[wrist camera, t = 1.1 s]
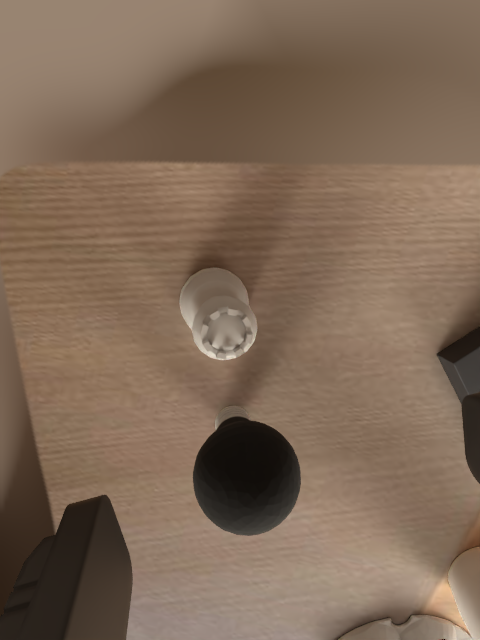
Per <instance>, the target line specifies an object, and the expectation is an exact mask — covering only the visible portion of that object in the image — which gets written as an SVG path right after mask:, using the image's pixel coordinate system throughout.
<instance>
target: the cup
mask: <svg viewBox="0 0 480 640" xmlns="http://www.w3.org/2000/svg"><path fill="white" fill-rule="evenodd" d="M448 582H449V585H450V588H451V591H452V593H453V596H454V599H455V602H456V604H457V607H458V610H459V613H460V615H461V617H462V619H463V621H464V623H465V625H466V627H467V629H468V631H469V633H470V635H471V637H472V639H473V640H480V547H475V548H471V549H469V550H467V551H465V552H463V553H462V554H461V555H459V556H458V557H457V558H456V559H455V560H454V562H453V563H452V565H451V567H450V569H449V572H448Z"/></svg>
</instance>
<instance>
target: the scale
mask: <svg viewBox="0 0 480 640" xmlns="http://www.w3.org/2000/svg"><path fill="white" fill-rule="evenodd" d="M437 356H438V358H439V360H440V362H441V364H442V366H443V368H444V370H445V372H446V374H447V376H448V378H449V380H450V382H451V384H452V386H453V388H454V390H455V392H456V394H457V396H458V398H459V400H460V402H461V404H462V401H463V399H464V397H465V396H467V395H471V394H474V393H478V392H480V327H478V328H477V329H475V330H474V331H472V332H471V333H469V334H467V335H466V336H464V337H463V338H461V339H460V340H458V341H457V342H455V343H453V344H452V345H450V346H449V347H447V348H446V349H444V350H442V351H441V352H439V353H438V354H437Z"/></svg>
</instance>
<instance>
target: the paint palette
mask: <svg viewBox="0 0 480 640" xmlns="http://www.w3.org/2000/svg"><path fill="white" fill-rule="evenodd" d="M438 639H446V640H473V639H472V637H471V636H470V635H469V634H468V633H467V632H466V631H464V630H463V629H462V628H460V627H459V626H457V625H455V624H453V623H452V622H451V621H448V620H446V619H442V618H438V617H434V616H429V615H411V617H410V619H409V620H408V621H407V622H406V623H404V624H402V625H394V624H393V623H392V622H391V619H390V618H386V619H382V620H378V621H374V622H371V623H368V624H365V625H363V626H361V627H358V628H356V629H354V630H352V631H350V632H348V633H346V634H345V635H343V636H342V637H341V638H339V639H338V640H438Z"/></svg>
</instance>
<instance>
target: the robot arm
mask: <svg viewBox="0 0 480 640" xmlns="http://www.w3.org/2000/svg"><path fill="white" fill-rule="evenodd" d="M462 416H463V429H464V442H465V455H466V460H467V463H468V466H469V468H470V470H471V472H472V474H473V476H474V477H475V479H476V480H477V481H478V482H479V483H480V392H478V393H474V394H471V395H467V396H465V397H464V399H463V401H462ZM13 588H14V592H11V594H10V596H9V598H8V601H7V603H6V605H5V607H4V614H3V615H1V617H0V640H126V634H127V626H128V618H129V609H130V601H131V593H132V566H131V560H130V555H129V552H128V549H127V546H126V543H125V540H124V538H123V535H122V532H121V529H120V526H119V523H118V521H117V518H116V515H115V512H114V509H113V507H112V504H111V501H110V499H109V498H108V496H107V495H101V496H98V497H94V498H90V499H87V500H83V501H79V502H76V503H72V504H69V505H68V506H67V507H66V509H65V511H64V514H63V517H62V519H61V522H60V525H59V527H58V530H57V533H56V535H53V536H50V537H46V538H44V539H43V540H42V541H41V542H40V544H39V545H38V546H37V547H36V548H35V550H34V551H33V552H32V553H31V555H30V556H29V557H28V558H27V560H26V561H25V562H24V564H23V566H22V569H21V571H20V573H19V575H18V578H17V580H16V583H15V585H14V587H13Z"/></svg>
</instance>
